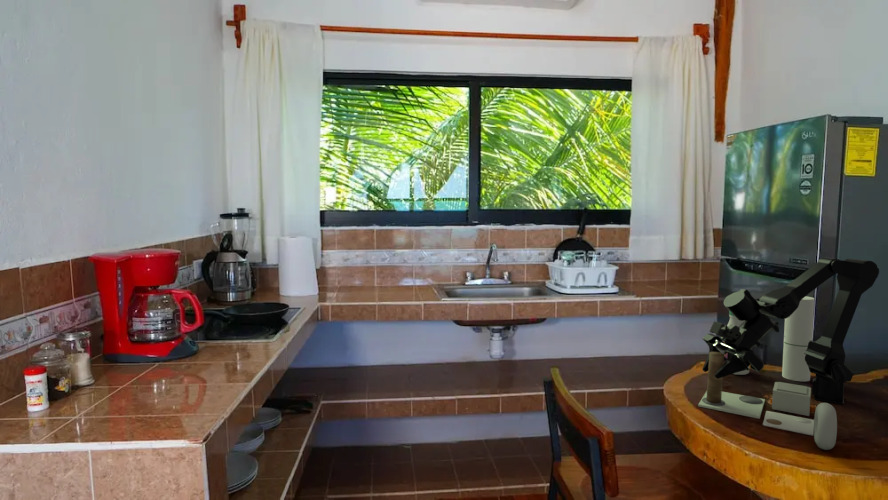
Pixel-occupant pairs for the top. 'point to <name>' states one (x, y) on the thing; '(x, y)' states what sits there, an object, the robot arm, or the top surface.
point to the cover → (791, 398)
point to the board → (736, 404)
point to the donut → (825, 426)
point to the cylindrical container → (798, 341)
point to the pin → (713, 383)
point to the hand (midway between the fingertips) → (709, 374)
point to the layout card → (789, 423)
